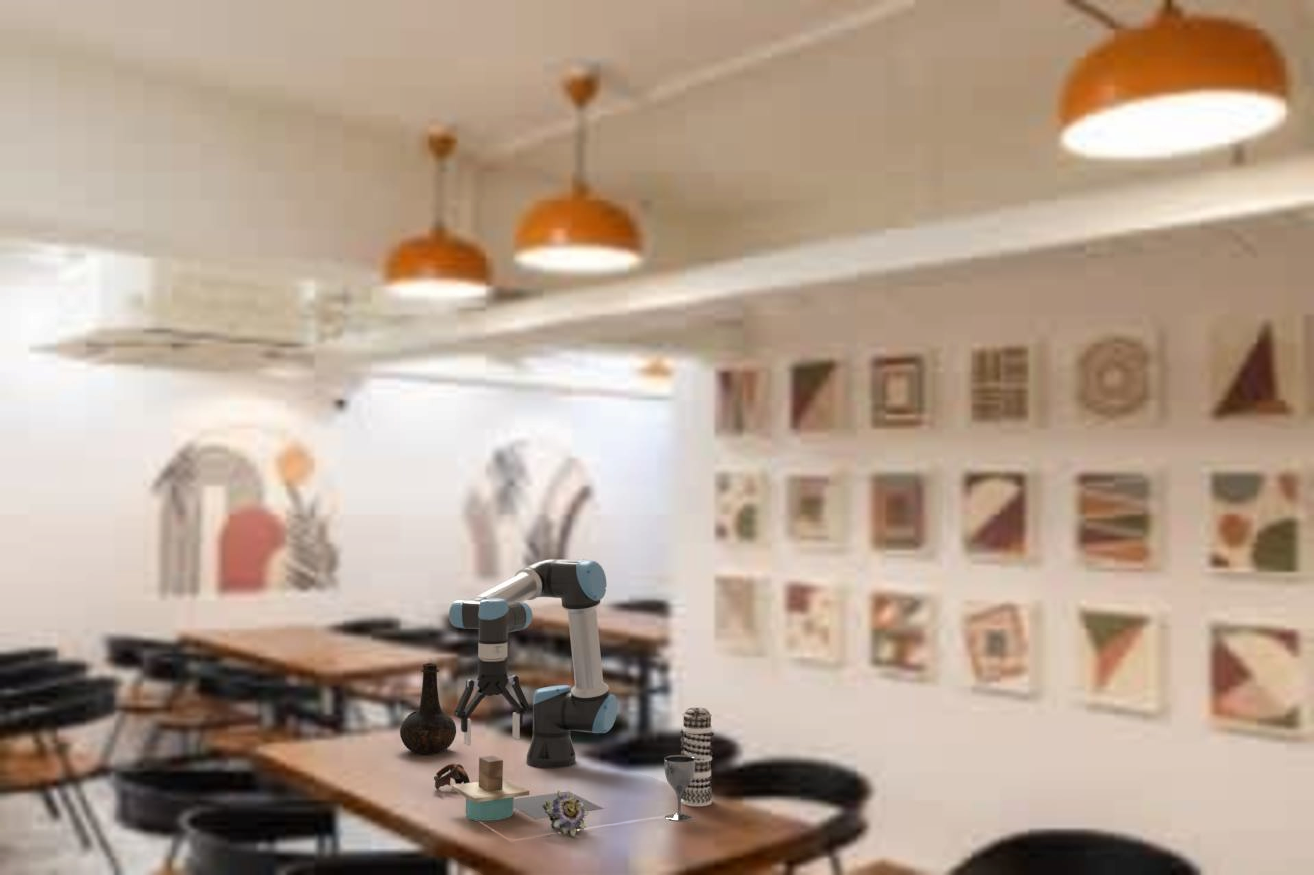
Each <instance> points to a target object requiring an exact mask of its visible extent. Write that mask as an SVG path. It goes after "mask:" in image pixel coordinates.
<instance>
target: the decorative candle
mask: <svg viewBox="0 0 1314 875" xmlns="http://www.w3.org/2000/svg"><path fill="white" fill-rule="evenodd" d="M682 716H683V725H682V729H681V731H679V734H680V736H682V737H681V738H680V740H679V742H680V743H681V744H680V748H681V749H682V750H681V752H680V755H685V756H691V757H694V758H695V771H694V776H693V780H692V782H691V783H690V784H689V786H688V787H687V788H686V789H685V790H684V792H683V794H682V798H681V805H683V806H684V805H685V806H689V807H706V806H710V805H711V804H712V802H713V801H712V797H713V794H712V793H713V789H712V785H713V783H712V780H713V776H712V769H711V761H712V760H713V757H712V755H713V754H714V752H713V751H712V750H713V749H714V746H713V745H712V744H711V743H712V742H714V738H713V737H714V736H715V733H714V732H713V731H712V728H713V726H712V724H711V723H712V717H713V715H712V714H711V713H710V711H709V710H708V709H707V708H705V707H704V708H703V707H690V708H687V709H686V711H685V712H684V713H682Z"/></svg>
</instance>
